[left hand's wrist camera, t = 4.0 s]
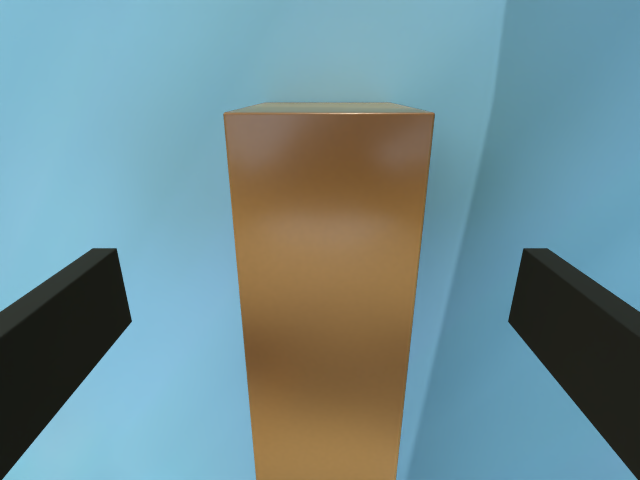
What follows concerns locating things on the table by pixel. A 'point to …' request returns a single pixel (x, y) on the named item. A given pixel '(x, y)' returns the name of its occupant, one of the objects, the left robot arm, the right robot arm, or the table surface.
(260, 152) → the block
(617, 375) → the left robot arm
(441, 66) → the table surface
